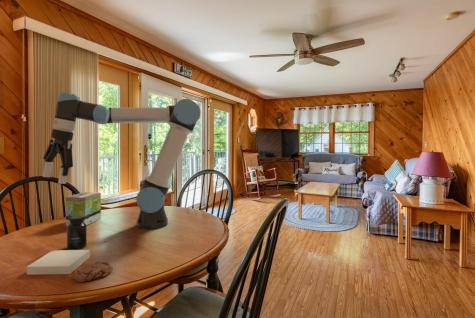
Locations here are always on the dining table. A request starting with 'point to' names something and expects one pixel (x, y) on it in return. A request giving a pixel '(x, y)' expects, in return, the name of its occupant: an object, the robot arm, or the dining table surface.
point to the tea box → (84, 207)
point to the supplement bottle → (76, 233)
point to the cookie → (92, 271)
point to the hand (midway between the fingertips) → (54, 180)
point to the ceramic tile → (58, 262)
